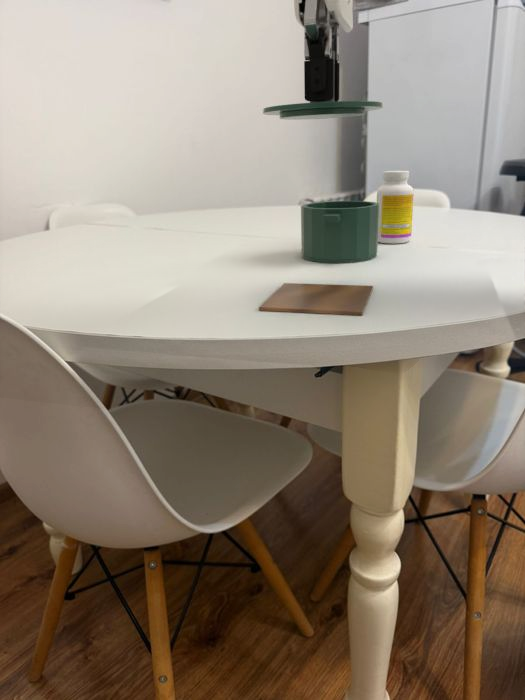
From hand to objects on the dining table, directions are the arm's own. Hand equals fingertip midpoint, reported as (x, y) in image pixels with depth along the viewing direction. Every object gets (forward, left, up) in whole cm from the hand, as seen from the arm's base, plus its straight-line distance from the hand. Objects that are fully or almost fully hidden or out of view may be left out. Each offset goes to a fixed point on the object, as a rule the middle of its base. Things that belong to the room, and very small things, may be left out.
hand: (322, 99), depth 61 cm
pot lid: (0, 0, -1) cm, 1 cm away
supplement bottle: (-6, -40, -23) cm, 46 cm away
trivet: (0, +3, -23) cm, 23 cm away
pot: (+2, -25, -23) cm, 34 cm away
